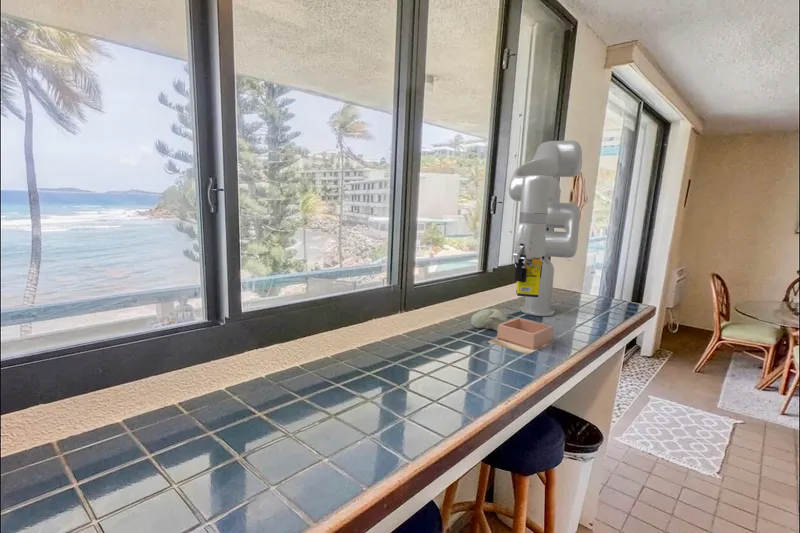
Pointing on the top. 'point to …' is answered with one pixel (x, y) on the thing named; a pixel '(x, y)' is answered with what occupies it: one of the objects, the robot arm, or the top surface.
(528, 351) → the beech board
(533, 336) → the pink open box
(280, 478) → the top surface
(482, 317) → the seashell
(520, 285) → the supplement box
